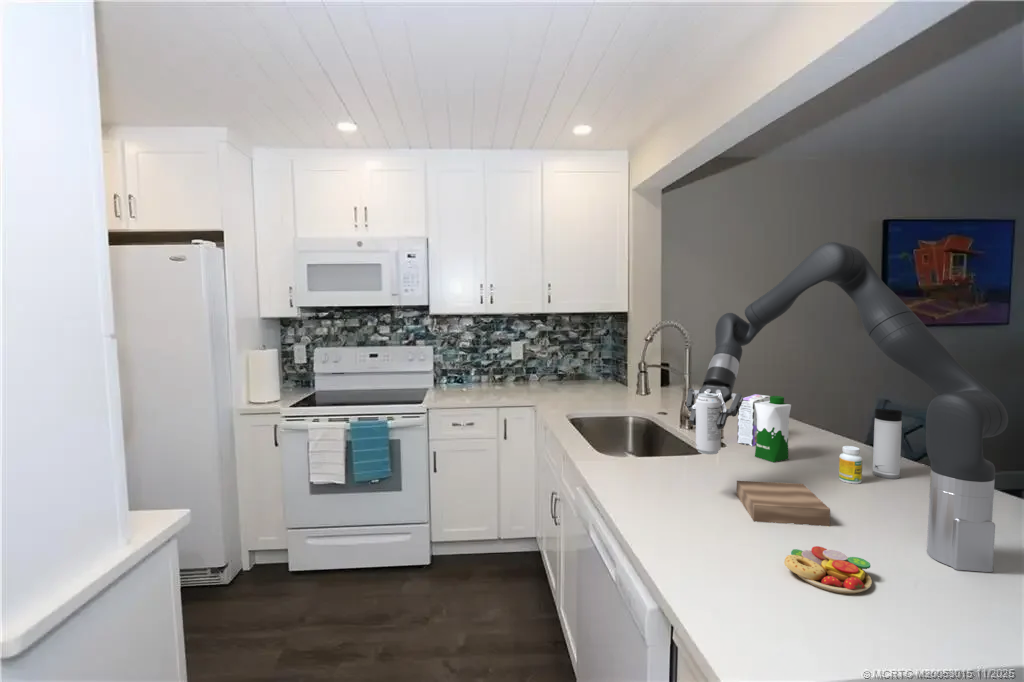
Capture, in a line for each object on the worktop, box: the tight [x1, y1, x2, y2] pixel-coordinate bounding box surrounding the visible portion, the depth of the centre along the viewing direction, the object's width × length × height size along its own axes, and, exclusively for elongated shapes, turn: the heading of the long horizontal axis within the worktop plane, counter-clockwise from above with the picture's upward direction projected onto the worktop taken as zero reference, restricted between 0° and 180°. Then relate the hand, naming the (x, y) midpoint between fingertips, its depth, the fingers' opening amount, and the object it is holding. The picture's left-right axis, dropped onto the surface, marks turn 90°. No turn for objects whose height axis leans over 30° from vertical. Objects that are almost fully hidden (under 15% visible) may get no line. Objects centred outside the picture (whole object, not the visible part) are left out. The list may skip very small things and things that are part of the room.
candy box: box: [736, 393, 771, 447], centre depth 181 cm, size 14×6×16 cm, turn 130°
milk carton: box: [754, 395, 792, 463], centre depth 161 cm, size 9×9×20 cm
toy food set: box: [783, 545, 873, 595], centre depth 93 cm, size 13×13×3 cm
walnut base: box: [735, 480, 831, 527], centre depth 122 cm, size 16×16×4 cm
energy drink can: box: [695, 393, 722, 455], centre depth 128 cm, size 6×6×15 cm
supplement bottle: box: [838, 445, 863, 485], centre depth 140 cm, size 5×5×10 cm
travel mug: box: [872, 408, 903, 480], centre depth 143 cm, size 6×7×20 cm
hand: (705, 425), depth 127 cm, fingers closed on energy drink can, 6 cm apart
